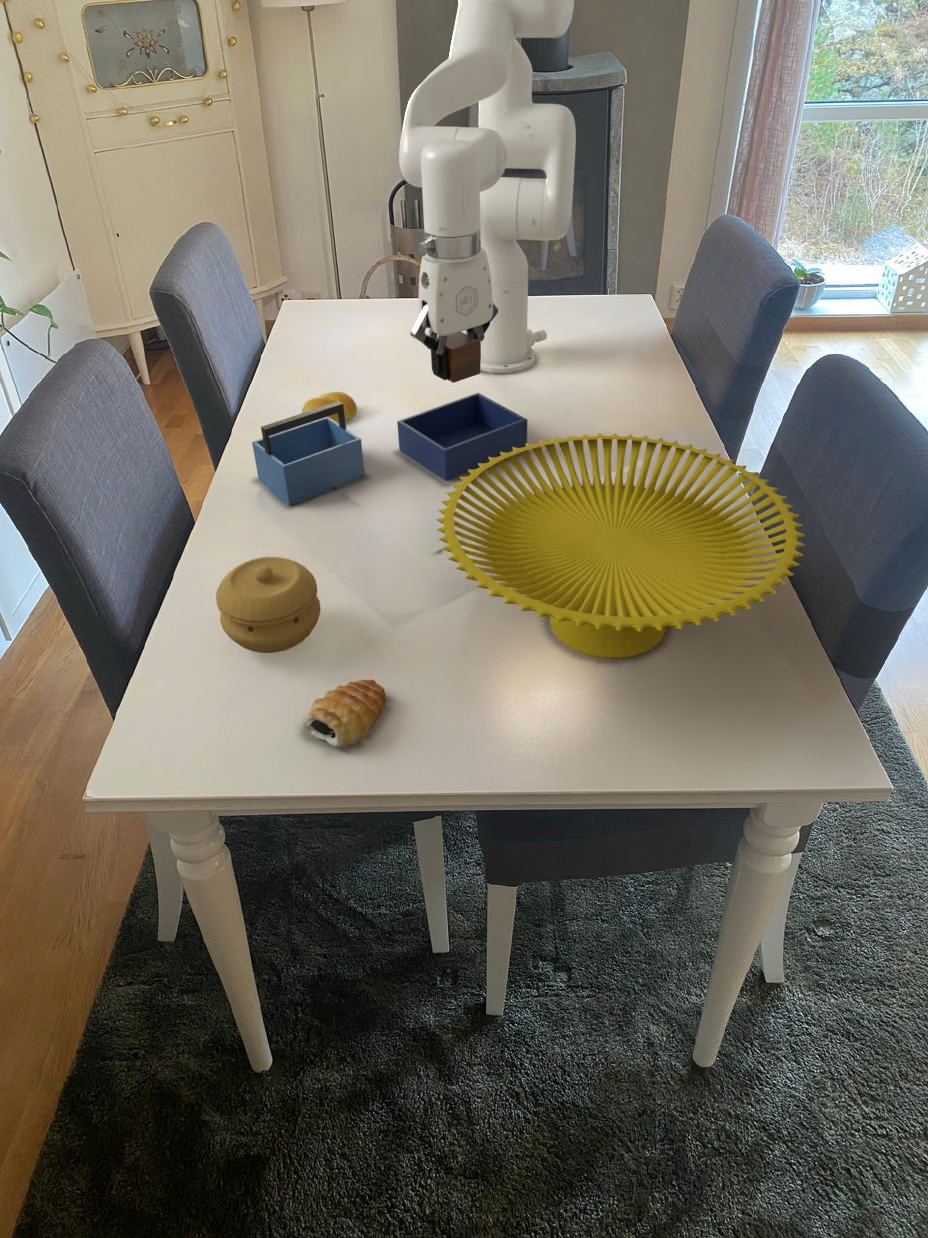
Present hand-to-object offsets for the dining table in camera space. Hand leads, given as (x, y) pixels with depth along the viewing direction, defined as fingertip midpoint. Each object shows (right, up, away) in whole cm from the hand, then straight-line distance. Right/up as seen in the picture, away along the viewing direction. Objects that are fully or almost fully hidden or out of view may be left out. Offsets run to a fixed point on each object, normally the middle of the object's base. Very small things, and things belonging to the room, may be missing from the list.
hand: (456, 370), depth 138 cm
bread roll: (-21, -3, +21) cm, 30 cm away
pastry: (-12, -48, -36) cm, 61 cm away
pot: (-22, -38, -24) cm, 50 cm away
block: (0, 0, 0) cm, 0 cm away
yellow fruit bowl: (+18, -37, -23) cm, 47 cm away
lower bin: (+1, -10, +11) cm, 15 cm away
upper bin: (-22, -15, +5) cm, 27 cm away
